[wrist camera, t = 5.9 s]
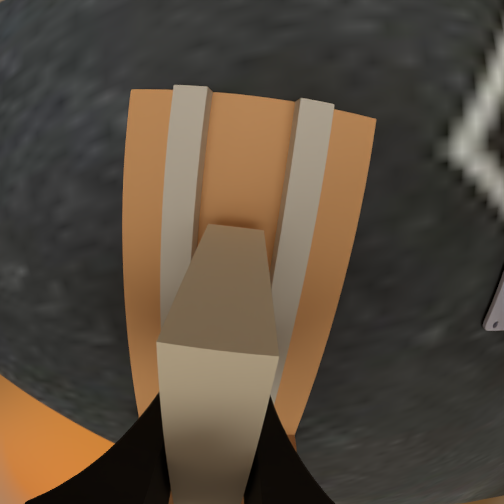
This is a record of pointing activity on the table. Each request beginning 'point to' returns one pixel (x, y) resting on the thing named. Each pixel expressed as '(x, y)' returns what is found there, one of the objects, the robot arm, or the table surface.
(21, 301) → the table surface
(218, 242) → the door panel
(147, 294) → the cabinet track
